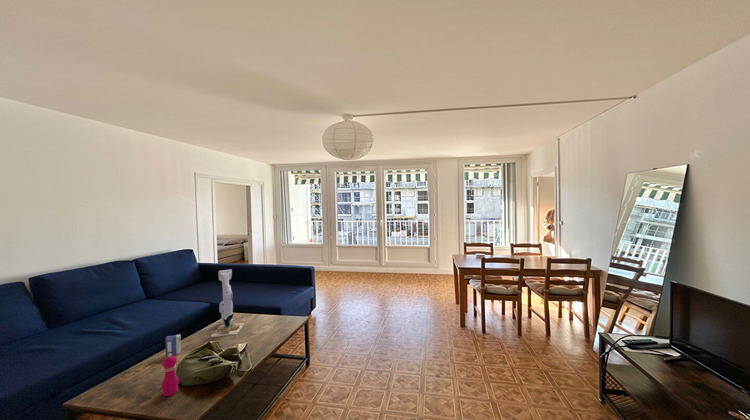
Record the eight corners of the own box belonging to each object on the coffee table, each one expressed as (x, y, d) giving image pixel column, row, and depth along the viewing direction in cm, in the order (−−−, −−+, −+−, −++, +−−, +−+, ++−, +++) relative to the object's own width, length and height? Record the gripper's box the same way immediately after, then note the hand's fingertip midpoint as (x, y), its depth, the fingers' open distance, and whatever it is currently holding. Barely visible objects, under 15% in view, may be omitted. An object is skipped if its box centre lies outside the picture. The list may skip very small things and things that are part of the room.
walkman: (165, 355, 181) (165, 337, 181) (167, 353, 183) (166, 335, 183) (179, 353, 183) (179, 335, 183) (181, 351, 186) (180, 333, 186)
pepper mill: (176, 386, 149) (175, 349, 149) (180, 391, 144) (180, 353, 144) (159, 393, 143) (159, 354, 143) (163, 399, 138) (163, 359, 138)
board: (220, 326, 226) (220, 322, 226) (244, 324, 230) (244, 320, 230) (210, 337, 207) (210, 333, 207) (236, 334, 210) (236, 330, 210)
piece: (226, 327, 220) (226, 319, 220) (231, 326, 220) (231, 319, 220) (224, 329, 216) (224, 321, 216) (230, 328, 216) (229, 321, 216)
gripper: (225, 305, 225) (226, 322, 225) (219, 311, 210) (219, 329, 210) (235, 304, 226) (235, 321, 226) (229, 310, 211) (229, 328, 211)
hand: (228, 325), depth 218 cm, fingers closed on piece, 4 cm apart
